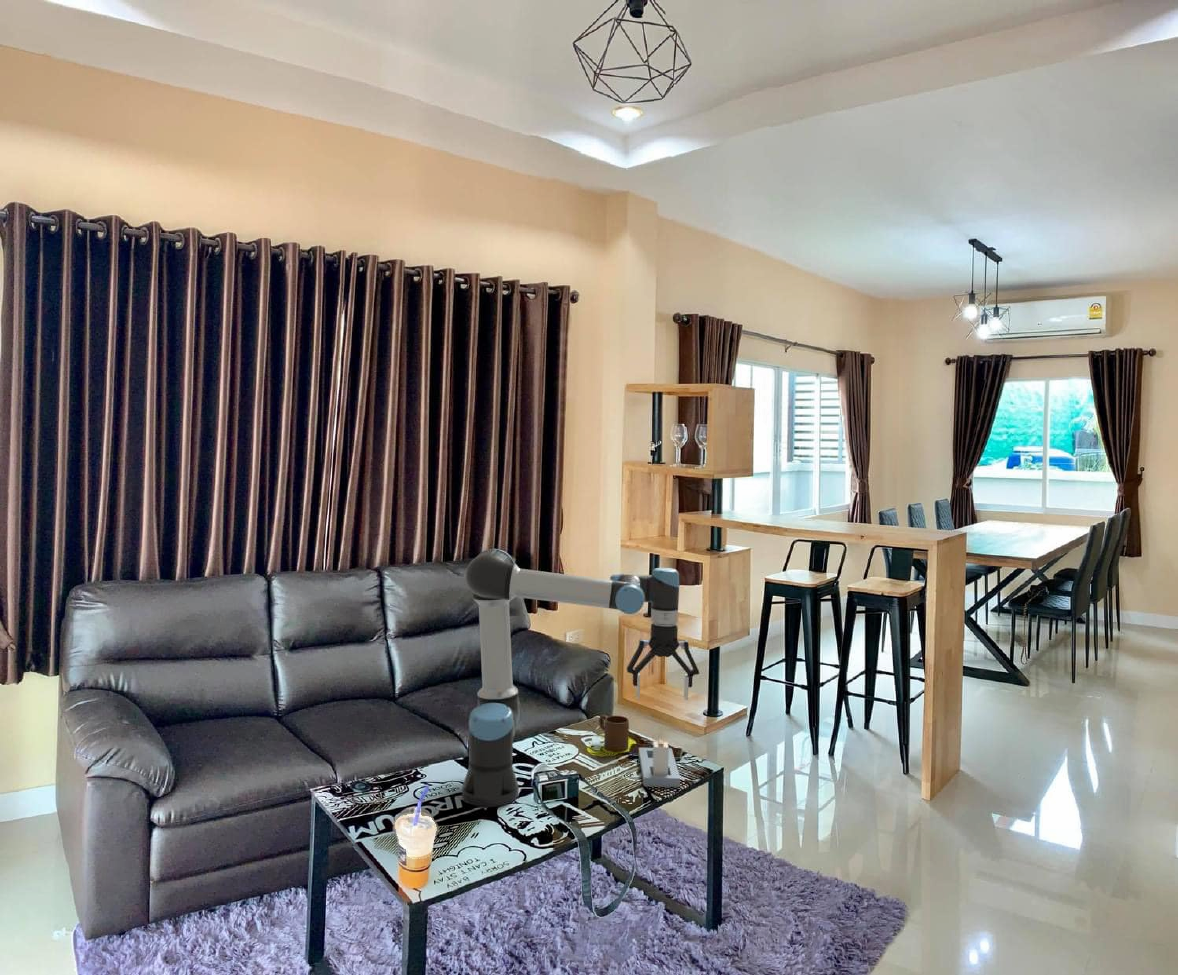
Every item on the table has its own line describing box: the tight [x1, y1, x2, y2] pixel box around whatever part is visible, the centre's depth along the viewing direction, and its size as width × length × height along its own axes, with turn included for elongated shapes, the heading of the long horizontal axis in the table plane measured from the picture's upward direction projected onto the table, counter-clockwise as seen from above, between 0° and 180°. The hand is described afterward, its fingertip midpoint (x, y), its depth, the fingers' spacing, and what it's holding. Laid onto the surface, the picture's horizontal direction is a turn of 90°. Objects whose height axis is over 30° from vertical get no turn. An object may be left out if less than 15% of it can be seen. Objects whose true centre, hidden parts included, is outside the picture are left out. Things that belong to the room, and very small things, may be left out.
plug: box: [652, 739, 670, 775], centre depth 229 cm, size 4×4×11 cm
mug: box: [598, 714, 630, 753], centre depth 254 cm, size 12×8×9 cm, turn 39°
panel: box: [638, 747, 681, 788], centre depth 236 cm, size 10×22×3 cm, turn 0°
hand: (661, 697), depth 228 cm, fingers open, 13 cm apart
